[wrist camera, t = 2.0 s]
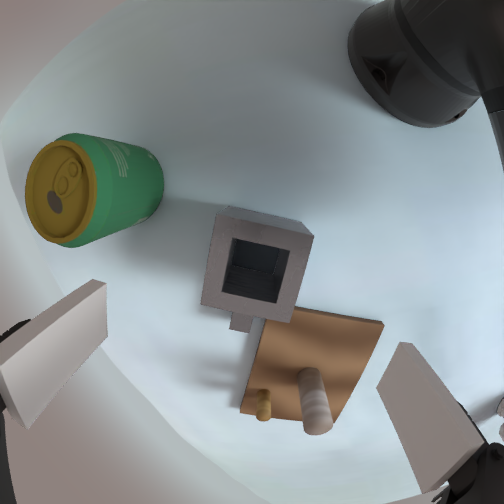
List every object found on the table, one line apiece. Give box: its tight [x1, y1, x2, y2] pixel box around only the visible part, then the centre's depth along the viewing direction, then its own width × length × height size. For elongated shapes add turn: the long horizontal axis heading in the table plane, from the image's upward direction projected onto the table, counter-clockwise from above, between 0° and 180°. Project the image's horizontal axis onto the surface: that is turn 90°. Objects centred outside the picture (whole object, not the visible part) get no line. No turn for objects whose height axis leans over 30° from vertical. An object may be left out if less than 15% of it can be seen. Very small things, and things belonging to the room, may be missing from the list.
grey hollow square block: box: [200, 206, 314, 333], centre depth 24 cm, size 11×7×7 cm, turn 168°
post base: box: [240, 306, 385, 435], centre depth 26 cm, size 16×13×9 cm
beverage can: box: [25, 133, 164, 248], centre depth 20 cm, size 8×8×12 cm
